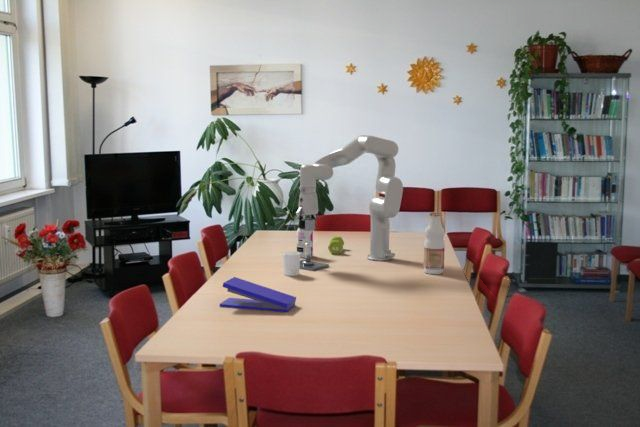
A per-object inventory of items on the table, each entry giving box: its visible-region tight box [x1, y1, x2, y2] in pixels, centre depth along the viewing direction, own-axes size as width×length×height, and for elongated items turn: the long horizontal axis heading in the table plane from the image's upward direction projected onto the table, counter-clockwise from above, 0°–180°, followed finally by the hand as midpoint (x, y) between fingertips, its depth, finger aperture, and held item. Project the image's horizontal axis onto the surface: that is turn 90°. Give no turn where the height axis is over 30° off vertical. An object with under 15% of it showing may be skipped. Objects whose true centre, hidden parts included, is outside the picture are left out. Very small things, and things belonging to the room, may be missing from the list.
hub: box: [300, 217, 316, 231], centre depth 352 cm, size 7×7×5 cm
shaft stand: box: [299, 243, 330, 272], centre depth 354 cm, size 16×12×11 cm
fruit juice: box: [423, 212, 446, 275], centre depth 343 cm, size 9×9×28 cm
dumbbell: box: [327, 235, 345, 255], centre depth 392 cm, size 16×8×7 cm, turn 175°
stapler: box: [219, 276, 297, 313], centre depth 284 cm, size 12×28×10 cm, turn 75°
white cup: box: [282, 251, 301, 277], centre depth 337 cm, size 8×8×10 cm
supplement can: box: [296, 227, 314, 259], centre depth 377 cm, size 8×8×15 cm
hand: (307, 227), depth 353 cm, fingers closed on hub, 7 cm apart
